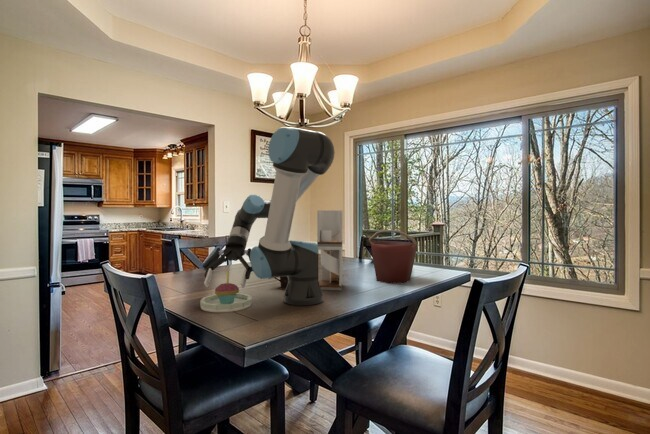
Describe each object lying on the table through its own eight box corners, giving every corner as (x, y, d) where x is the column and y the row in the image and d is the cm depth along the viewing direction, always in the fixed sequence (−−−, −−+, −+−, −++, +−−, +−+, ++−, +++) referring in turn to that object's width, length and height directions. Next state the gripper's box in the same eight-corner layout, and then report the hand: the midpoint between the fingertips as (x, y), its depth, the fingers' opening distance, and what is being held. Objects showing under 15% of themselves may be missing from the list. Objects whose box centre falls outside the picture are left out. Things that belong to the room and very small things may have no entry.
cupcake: (218, 299, 134) (217, 268, 134) (240, 299, 135) (240, 268, 135) (212, 306, 126) (212, 272, 125) (236, 305, 126) (236, 272, 126)
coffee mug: (298, 284, 166) (298, 263, 166) (295, 289, 157) (295, 266, 157) (274, 284, 167) (274, 263, 167) (270, 288, 158) (269, 266, 158)
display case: (319, 284, 167) (319, 210, 166) (342, 284, 166) (342, 210, 165) (317, 289, 156) (317, 210, 155) (341, 290, 155) (341, 210, 154)
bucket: (359, 279, 180) (360, 230, 179) (386, 273, 195) (386, 228, 194) (400, 287, 162) (400, 232, 161) (426, 280, 177) (426, 230, 176)
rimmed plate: (260, 301, 136) (260, 295, 136) (232, 314, 119) (232, 307, 119) (221, 297, 142) (221, 291, 142) (189, 309, 125) (189, 302, 125)
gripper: (269, 246, 144) (259, 291, 130) (210, 246, 146) (194, 290, 132) (266, 234, 139) (255, 280, 124) (205, 234, 141) (187, 279, 126)
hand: (224, 285), depth 128 cm, fingers open, 13 cm apart
